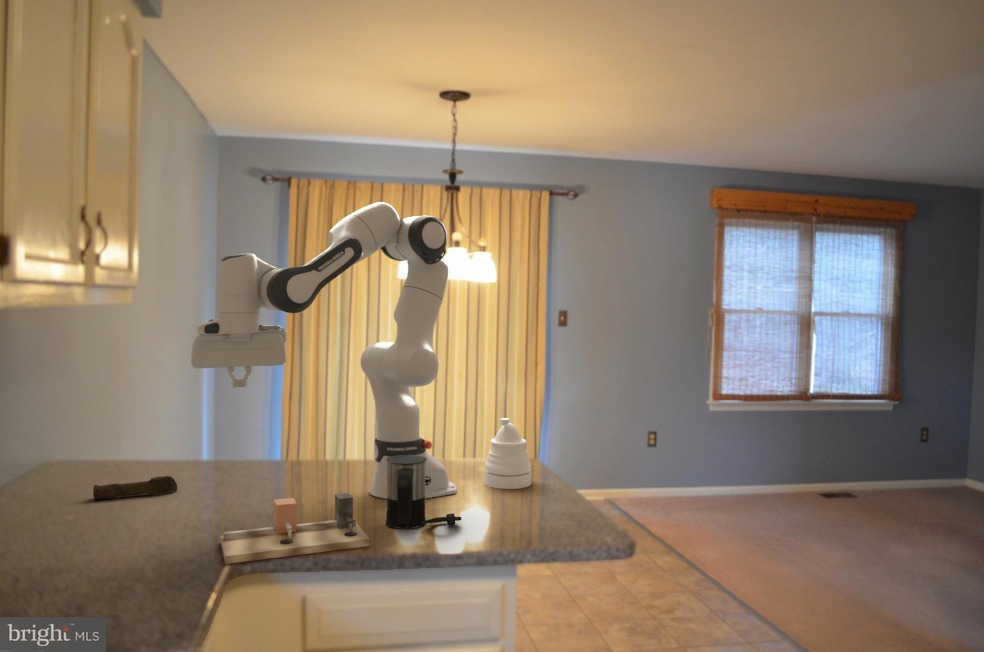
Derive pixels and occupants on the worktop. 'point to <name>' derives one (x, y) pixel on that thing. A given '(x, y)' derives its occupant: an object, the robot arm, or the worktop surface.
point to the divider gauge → (297, 537)
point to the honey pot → (507, 459)
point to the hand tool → (136, 488)
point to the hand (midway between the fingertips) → (239, 386)
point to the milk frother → (408, 493)
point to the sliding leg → (285, 516)
